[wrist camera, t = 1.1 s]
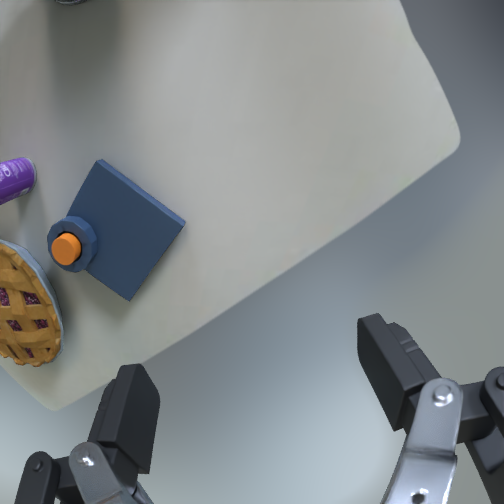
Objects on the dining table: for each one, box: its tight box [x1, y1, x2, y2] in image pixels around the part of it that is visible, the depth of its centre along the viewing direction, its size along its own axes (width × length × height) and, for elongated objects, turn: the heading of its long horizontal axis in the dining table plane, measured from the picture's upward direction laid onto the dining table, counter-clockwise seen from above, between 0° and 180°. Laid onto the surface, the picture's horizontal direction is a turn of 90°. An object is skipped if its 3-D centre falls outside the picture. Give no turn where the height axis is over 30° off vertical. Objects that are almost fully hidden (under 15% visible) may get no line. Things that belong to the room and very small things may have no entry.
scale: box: [47, 159, 185, 301], centre depth 31 cm, size 12×12×4 cm
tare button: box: [52, 233, 81, 265], centre depth 28 cm, size 3×3×2 cm
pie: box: [0, 240, 64, 367], centre depth 32 cm, size 22×22×5 cm
